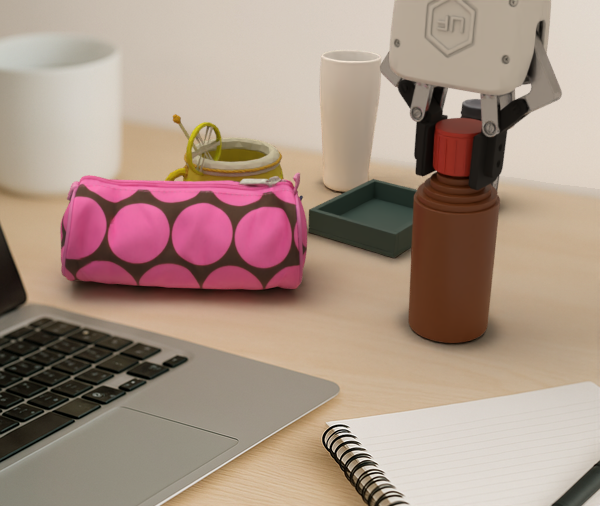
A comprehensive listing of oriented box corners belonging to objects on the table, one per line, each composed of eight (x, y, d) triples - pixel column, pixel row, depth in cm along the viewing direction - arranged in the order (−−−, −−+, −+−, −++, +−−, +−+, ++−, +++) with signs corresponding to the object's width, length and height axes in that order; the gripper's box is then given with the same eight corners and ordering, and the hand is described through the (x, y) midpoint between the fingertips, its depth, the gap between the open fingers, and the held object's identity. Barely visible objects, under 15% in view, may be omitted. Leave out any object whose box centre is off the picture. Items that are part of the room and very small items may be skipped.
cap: (432, 176, 60) (434, 133, 58) (433, 158, 63) (435, 117, 62) (485, 178, 59) (489, 134, 58) (484, 159, 62) (487, 118, 61)
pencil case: (303, 257, 79) (305, 156, 75) (308, 305, 71) (310, 194, 66) (77, 257, 78) (65, 155, 74) (54, 305, 70) (39, 193, 65)
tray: (371, 199, 93) (373, 178, 92) (453, 221, 88) (455, 198, 87) (308, 232, 85) (308, 209, 84) (393, 258, 79) (395, 234, 78)
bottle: (432, 295, 72) (442, 114, 64) (500, 316, 68) (521, 128, 60) (393, 327, 67) (400, 137, 59) (465, 351, 64) (482, 153, 56)
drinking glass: (379, 180, 99) (388, 52, 92) (366, 198, 94) (374, 63, 87) (325, 173, 101) (329, 47, 94) (309, 191, 95) (312, 58, 88)
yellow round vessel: (267, 200, 93) (267, 93, 87) (300, 237, 84) (302, 120, 78) (153, 213, 89) (145, 101, 83) (175, 253, 80) (168, 130, 74)
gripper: (342, -99, 55) (335, 167, 63) (585, -89, 46) (538, 220, 54) (405, -101, 60) (390, 144, 69) (634, -93, 51) (584, 190, 59)
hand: (456, 175), depth 61 cm, fingers closed on cap, 3 cm apart
